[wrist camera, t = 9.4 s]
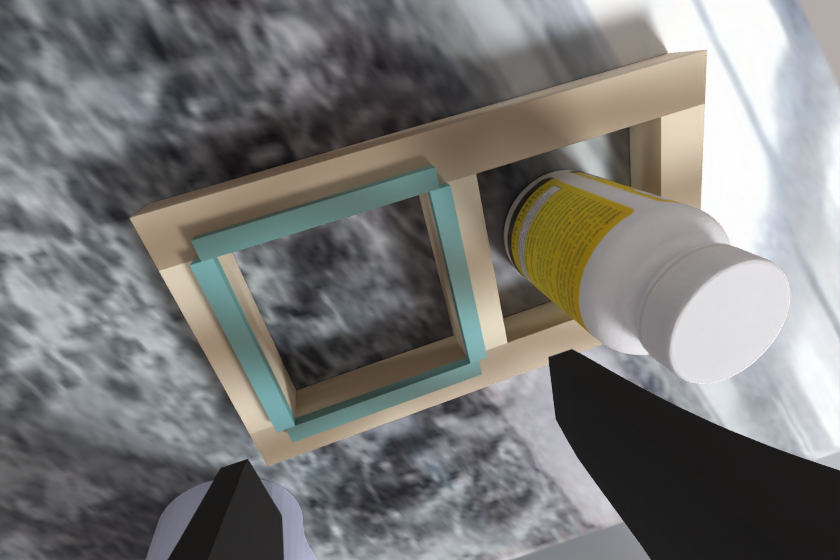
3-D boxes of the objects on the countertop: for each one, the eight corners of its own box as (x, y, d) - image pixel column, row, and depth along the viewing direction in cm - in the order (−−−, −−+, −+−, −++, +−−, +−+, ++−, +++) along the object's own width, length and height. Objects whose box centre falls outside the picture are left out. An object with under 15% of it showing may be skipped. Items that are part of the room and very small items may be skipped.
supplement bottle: (505, 291, 22) (639, 426, 13) (495, 182, 20) (650, 258, 11) (605, 264, 23) (794, 376, 14) (606, 156, 20) (834, 209, 12)
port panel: (667, 293, 24) (704, 314, 22) (270, 435, 22) (266, 475, 20) (669, 53, 19) (717, 48, 17) (148, 204, 17) (124, 222, 14)
